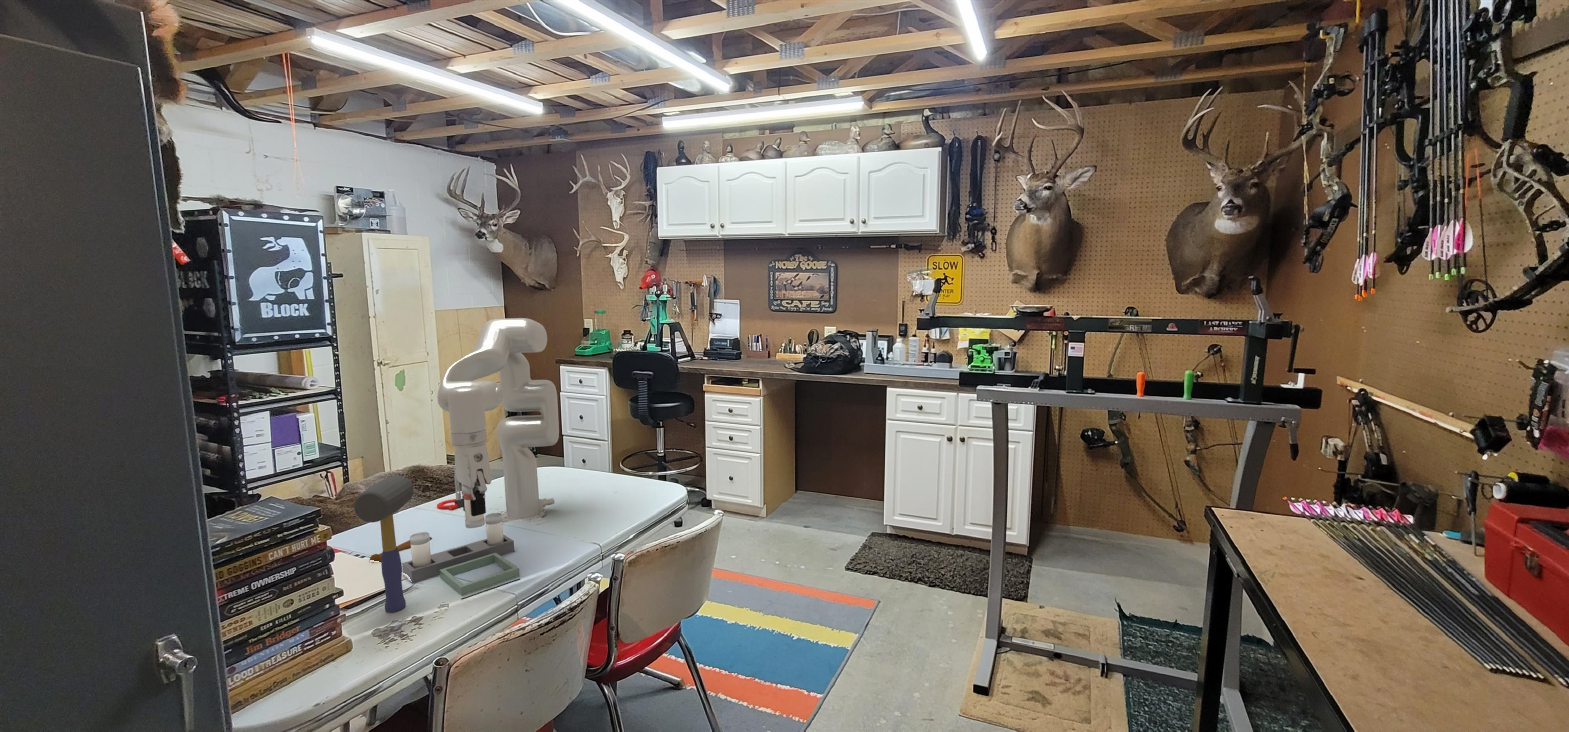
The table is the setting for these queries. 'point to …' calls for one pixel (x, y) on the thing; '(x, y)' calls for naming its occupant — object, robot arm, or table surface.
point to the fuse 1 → (420, 549)
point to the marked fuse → (469, 519)
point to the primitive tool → (400, 548)
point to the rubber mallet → (387, 530)
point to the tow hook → (457, 501)
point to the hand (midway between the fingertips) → (474, 511)
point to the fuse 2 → (494, 528)
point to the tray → (485, 582)
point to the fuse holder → (456, 558)
